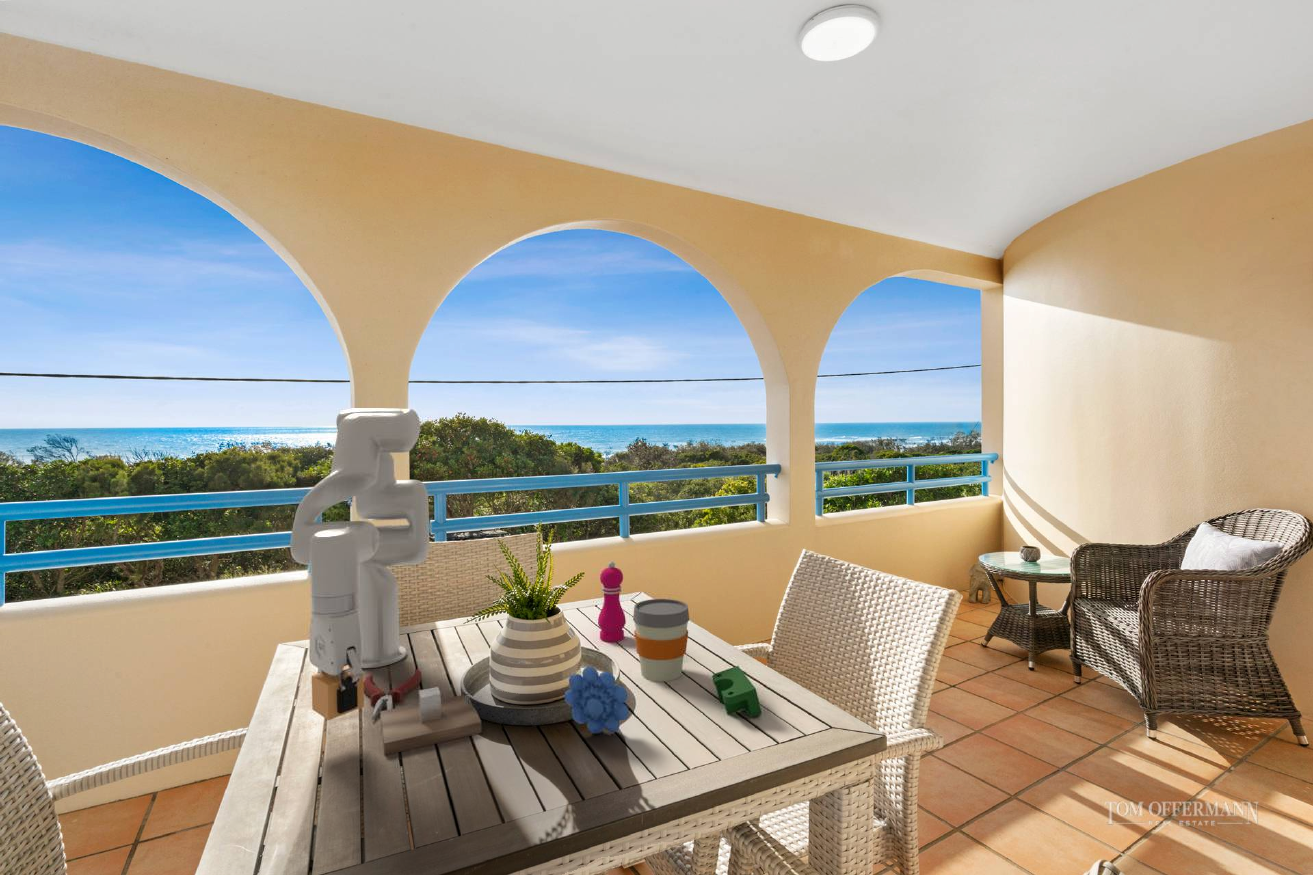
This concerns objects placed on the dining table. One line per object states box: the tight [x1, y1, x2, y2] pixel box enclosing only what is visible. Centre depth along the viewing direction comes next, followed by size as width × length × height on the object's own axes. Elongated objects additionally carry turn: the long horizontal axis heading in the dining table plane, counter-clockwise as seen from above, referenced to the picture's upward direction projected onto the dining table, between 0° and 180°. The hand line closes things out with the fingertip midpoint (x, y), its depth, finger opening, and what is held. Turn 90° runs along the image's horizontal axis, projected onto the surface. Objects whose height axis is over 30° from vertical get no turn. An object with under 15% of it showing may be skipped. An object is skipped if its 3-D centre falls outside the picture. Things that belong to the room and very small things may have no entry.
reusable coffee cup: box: [632, 598, 690, 683], centre depth 136 cm, size 13×13×15 cm
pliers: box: [364, 668, 422, 721], centre depth 124 cm, size 12×20×3 cm, turn 16°
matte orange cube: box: [311, 665, 365, 721], centre depth 106 cm, size 6×6×6 cm
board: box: [379, 686, 482, 756], centre depth 112 cm, size 13×16×6 cm
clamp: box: [711, 665, 762, 718], centre depth 120 cm, size 12×6×9 cm, turn 4°
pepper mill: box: [597, 561, 627, 643], centre depth 159 cm, size 7×7×20 cm
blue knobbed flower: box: [564, 666, 630, 735], centre depth 109 cm, size 12×7×12 cm, turn 87°
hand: (338, 703), depth 106 cm, fingers closed on matte orange cube, 6 cm apart
